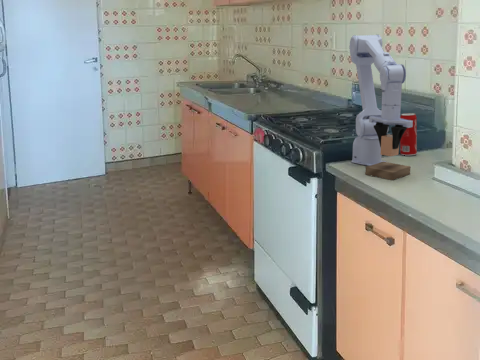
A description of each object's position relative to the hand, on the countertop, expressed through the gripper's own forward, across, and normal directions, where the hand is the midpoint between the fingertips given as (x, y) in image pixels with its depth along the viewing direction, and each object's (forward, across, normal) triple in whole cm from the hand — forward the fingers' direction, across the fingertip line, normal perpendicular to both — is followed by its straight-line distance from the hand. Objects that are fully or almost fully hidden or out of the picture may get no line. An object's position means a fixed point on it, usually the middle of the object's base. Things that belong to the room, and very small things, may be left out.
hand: (389, 147), depth 180 cm
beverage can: (+9, -10, +28) cm, 32 cm away
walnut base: (+9, 0, 0) cm, 9 cm away
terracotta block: (+2, 0, 0) cm, 2 cm away
